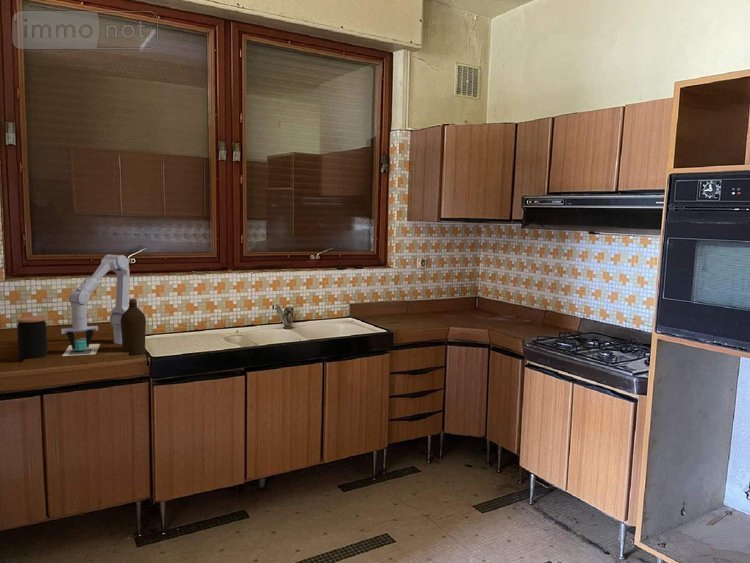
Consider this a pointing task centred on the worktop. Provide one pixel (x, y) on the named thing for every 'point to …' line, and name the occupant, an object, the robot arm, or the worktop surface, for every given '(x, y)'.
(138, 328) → the olive oil
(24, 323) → the coffee jar
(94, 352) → the board
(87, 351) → the pad
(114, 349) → the worktop surface
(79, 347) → the cap
